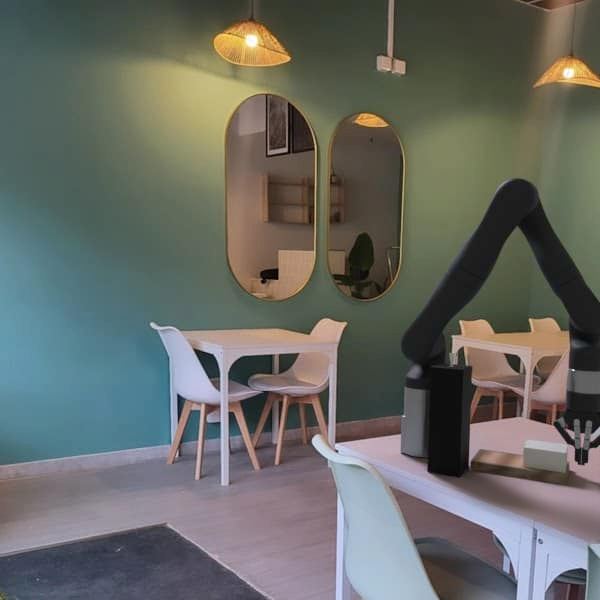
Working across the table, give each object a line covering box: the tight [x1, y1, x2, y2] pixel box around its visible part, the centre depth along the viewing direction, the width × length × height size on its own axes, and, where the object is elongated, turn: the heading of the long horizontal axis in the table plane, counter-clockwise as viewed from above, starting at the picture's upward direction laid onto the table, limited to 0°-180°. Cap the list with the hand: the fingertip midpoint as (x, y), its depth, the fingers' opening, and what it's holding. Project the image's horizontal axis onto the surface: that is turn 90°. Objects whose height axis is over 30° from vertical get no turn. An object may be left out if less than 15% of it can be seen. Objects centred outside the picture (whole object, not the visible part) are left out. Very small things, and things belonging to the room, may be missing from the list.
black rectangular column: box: [426, 352, 473, 478], centre depth 140 cm, size 8×8×28 cm
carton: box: [522, 439, 569, 473], centre depth 139 cm, size 9×8×4 cm
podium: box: [470, 448, 570, 486], centre depth 142 cm, size 21×12×2 cm, turn 63°
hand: (581, 464), depth 136 cm, fingers closed
